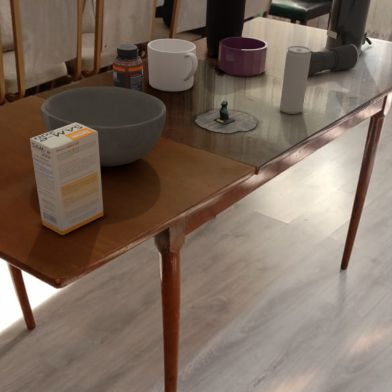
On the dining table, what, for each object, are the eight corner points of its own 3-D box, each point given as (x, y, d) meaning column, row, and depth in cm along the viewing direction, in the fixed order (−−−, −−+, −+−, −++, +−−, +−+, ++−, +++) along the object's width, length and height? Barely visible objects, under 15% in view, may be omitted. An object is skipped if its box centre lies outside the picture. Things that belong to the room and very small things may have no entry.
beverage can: (304, 108, 132) (313, 47, 124) (299, 116, 128) (309, 54, 120) (282, 105, 133) (290, 44, 125) (276, 112, 129) (284, 50, 122)
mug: (138, 81, 140) (137, 43, 135) (174, 73, 146) (175, 36, 140) (176, 99, 133) (177, 59, 127) (213, 90, 138) (215, 51, 133)
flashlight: (307, 79, 146) (310, 55, 143) (293, 73, 150) (296, 48, 146) (356, 71, 153) (361, 47, 149) (341, 64, 156) (345, 41, 153)
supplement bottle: (148, 103, 130) (148, 45, 123) (134, 112, 126) (133, 52, 119) (123, 98, 132) (121, 40, 124) (109, 107, 128) (106, 47, 120)
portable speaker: (199, 51, 160) (203, -38, 147) (232, 49, 163) (239, -39, 150) (212, 61, 154) (217, -31, 141) (246, 58, 157) (254, -32, 144)
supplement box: (83, 205, 96) (75, 120, 87) (104, 216, 94) (99, 130, 85) (40, 224, 91) (28, 136, 82) (61, 237, 89) (51, 147, 80)
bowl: (178, 180, 104) (180, 120, 97) (54, 192, 99) (47, 129, 92) (150, 133, 118) (150, 78, 112) (40, 141, 113) (33, 84, 107)
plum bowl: (234, 60, 156) (236, 33, 152) (273, 69, 151) (276, 42, 147) (209, 70, 149) (210, 43, 145) (249, 81, 144) (252, 53, 140)
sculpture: (190, 130, 121) (195, 90, 121) (198, 147, 130) (202, 108, 130) (252, 134, 119) (257, 92, 119) (255, 150, 128) (259, 111, 128)
